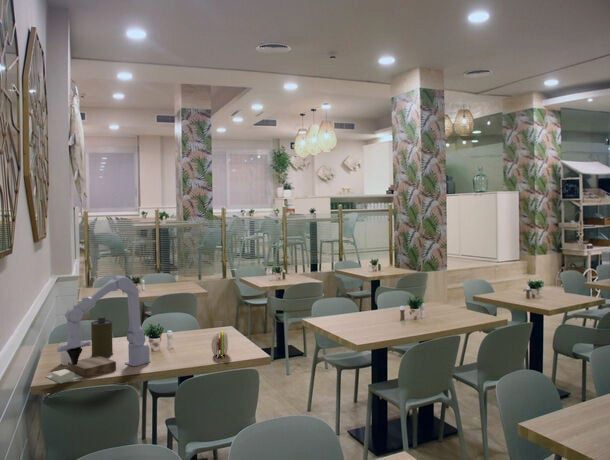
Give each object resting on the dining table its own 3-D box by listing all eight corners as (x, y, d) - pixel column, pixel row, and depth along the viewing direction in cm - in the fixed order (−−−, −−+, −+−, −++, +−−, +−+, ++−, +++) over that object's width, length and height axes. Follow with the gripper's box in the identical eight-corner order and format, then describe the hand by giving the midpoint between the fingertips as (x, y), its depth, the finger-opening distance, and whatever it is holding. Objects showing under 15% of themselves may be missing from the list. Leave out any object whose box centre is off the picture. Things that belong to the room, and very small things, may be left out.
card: (51, 372, 232) (51, 376, 232) (61, 376, 226) (61, 380, 226) (65, 369, 236) (65, 373, 236) (74, 372, 230) (74, 377, 231)
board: (98, 363, 252) (98, 355, 252) (116, 369, 242) (115, 361, 242) (68, 371, 241) (67, 362, 241) (85, 377, 231) (84, 369, 230)
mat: (68, 371, 240) (68, 371, 240) (82, 377, 231) (82, 377, 231) (46, 377, 232) (46, 376, 232) (60, 383, 223) (60, 382, 223)
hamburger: (212, 352, 271) (211, 330, 271) (228, 352, 272) (227, 329, 272) (211, 359, 259) (210, 335, 259) (227, 358, 261) (227, 334, 260)
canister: (114, 356, 265) (113, 317, 265) (92, 359, 260) (92, 319, 260) (111, 351, 275) (110, 314, 274) (90, 354, 270) (89, 316, 269)
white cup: (60, 366, 248) (59, 346, 247) (59, 362, 255) (58, 342, 254) (78, 364, 252) (77, 344, 251) (76, 360, 258) (76, 340, 258)
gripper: (85, 330, 243) (85, 359, 243) (53, 336, 232) (54, 366, 232) (92, 332, 238) (93, 362, 239) (61, 338, 227) (61, 369, 227)
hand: (74, 364), depth 235 cm, fingers closed
